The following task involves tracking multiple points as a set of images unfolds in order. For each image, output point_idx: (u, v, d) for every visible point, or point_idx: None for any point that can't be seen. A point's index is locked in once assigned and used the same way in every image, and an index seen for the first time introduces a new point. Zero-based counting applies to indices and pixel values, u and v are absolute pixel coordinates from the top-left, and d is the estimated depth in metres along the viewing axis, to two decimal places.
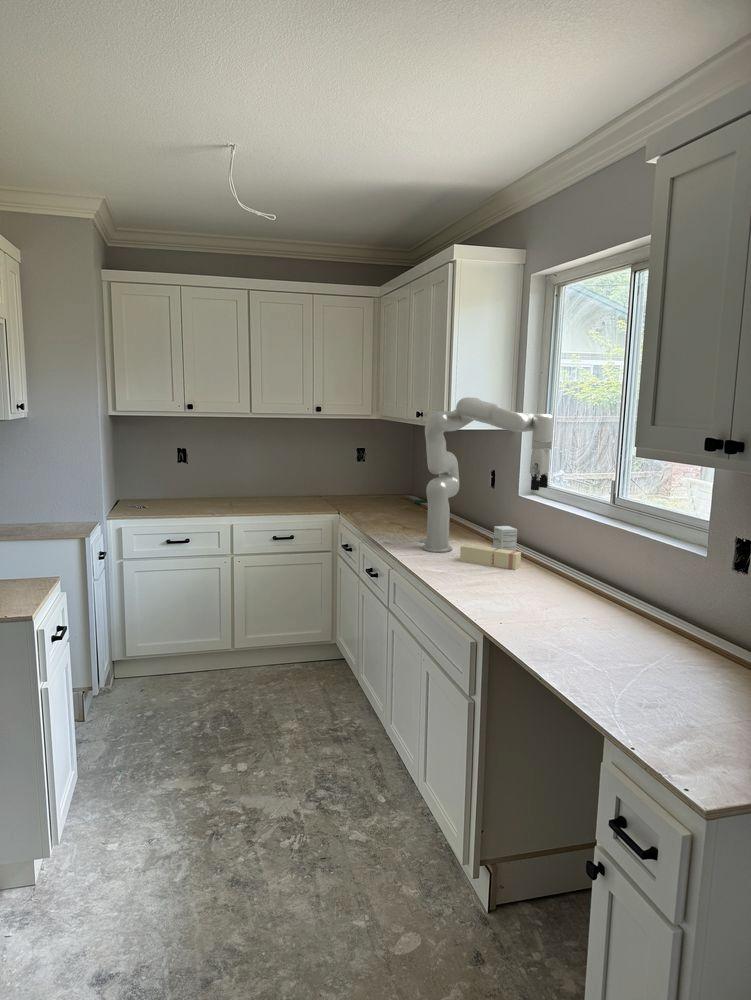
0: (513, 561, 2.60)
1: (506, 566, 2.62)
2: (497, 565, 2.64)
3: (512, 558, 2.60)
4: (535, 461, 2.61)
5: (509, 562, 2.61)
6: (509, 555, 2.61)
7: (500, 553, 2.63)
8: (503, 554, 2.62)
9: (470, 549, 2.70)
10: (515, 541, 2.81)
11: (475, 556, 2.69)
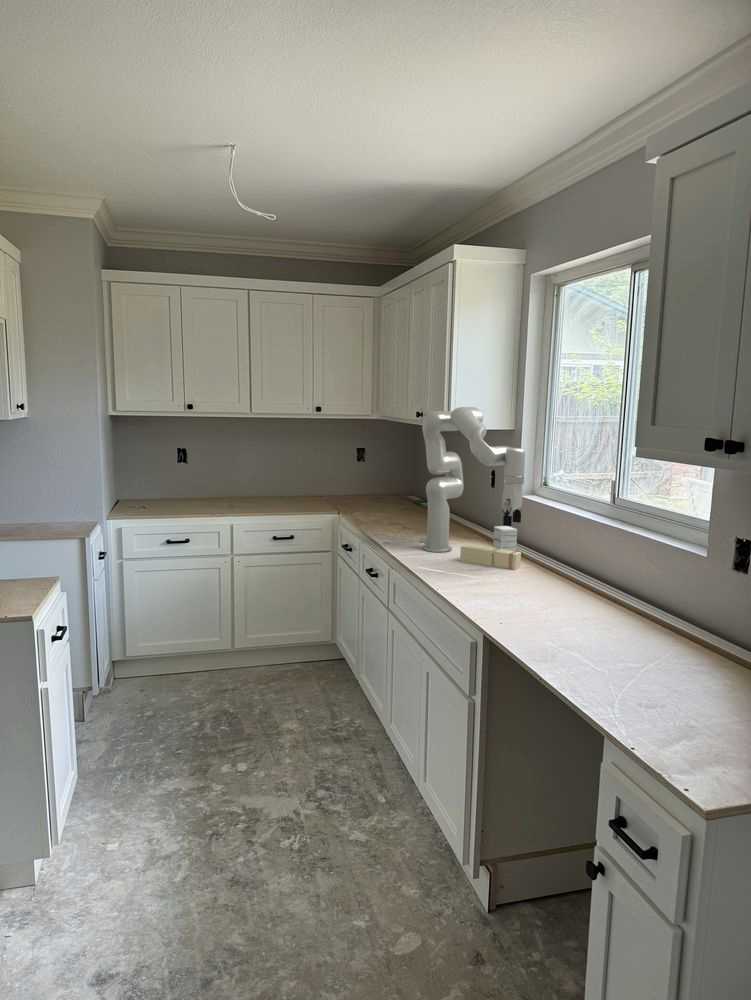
0: (513, 561, 2.60)
1: (506, 566, 2.62)
2: (497, 565, 2.64)
3: (512, 558, 2.60)
4: (507, 496, 2.56)
5: (509, 562, 2.61)
6: (509, 555, 2.61)
7: (500, 553, 2.63)
8: (503, 554, 2.62)
9: (470, 549, 2.70)
10: (515, 541, 2.81)
11: (475, 556, 2.69)
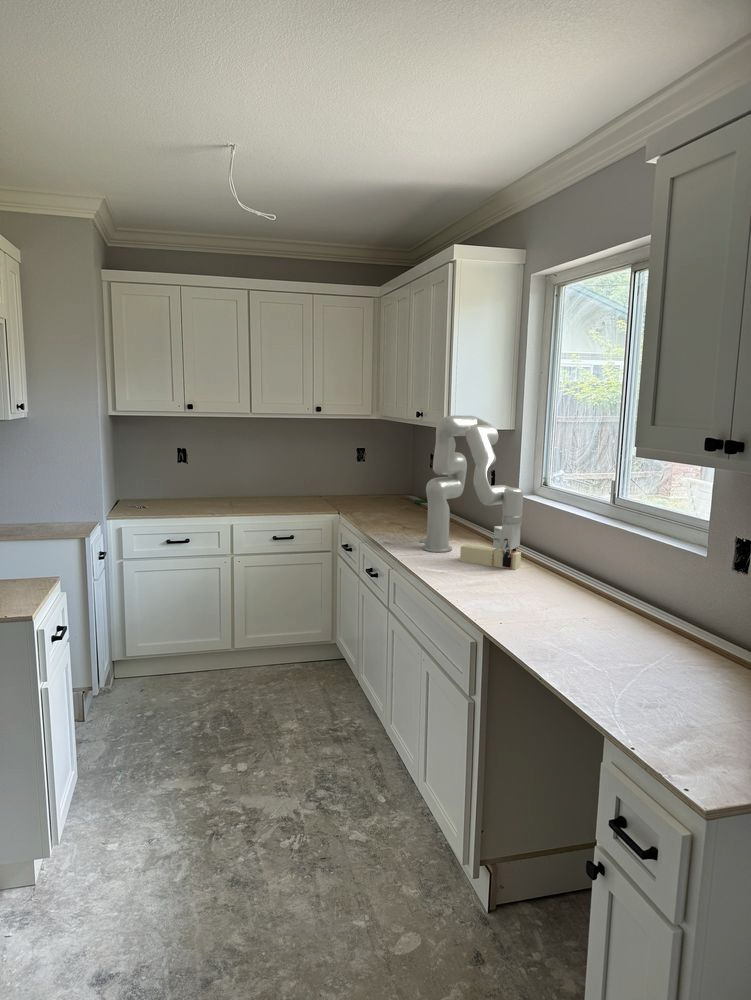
0: (513, 561, 2.60)
1: None
2: (497, 565, 2.64)
3: (512, 558, 2.60)
4: (505, 536, 2.58)
5: None
6: None
7: (500, 553, 2.63)
8: None
9: (470, 549, 2.70)
10: None
11: (475, 556, 2.69)
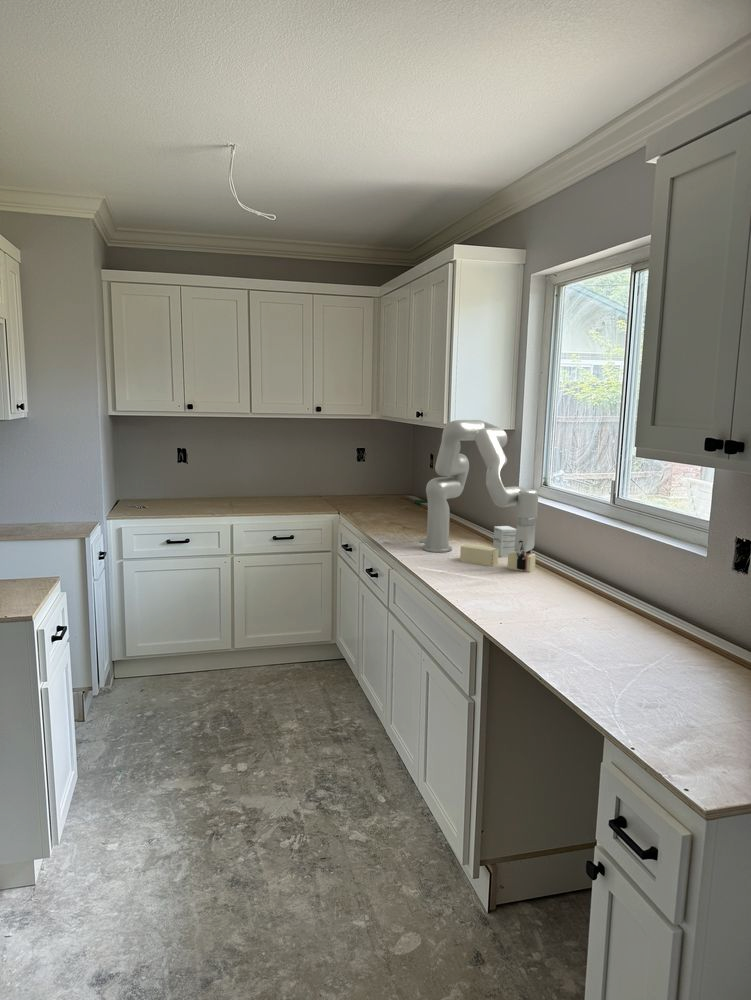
0: (528, 564, 2.57)
1: None
2: (511, 567, 2.61)
3: (527, 560, 2.57)
4: (520, 538, 2.55)
5: None
6: None
7: (514, 555, 2.60)
8: None
9: (470, 549, 2.70)
10: None
11: (475, 556, 2.69)
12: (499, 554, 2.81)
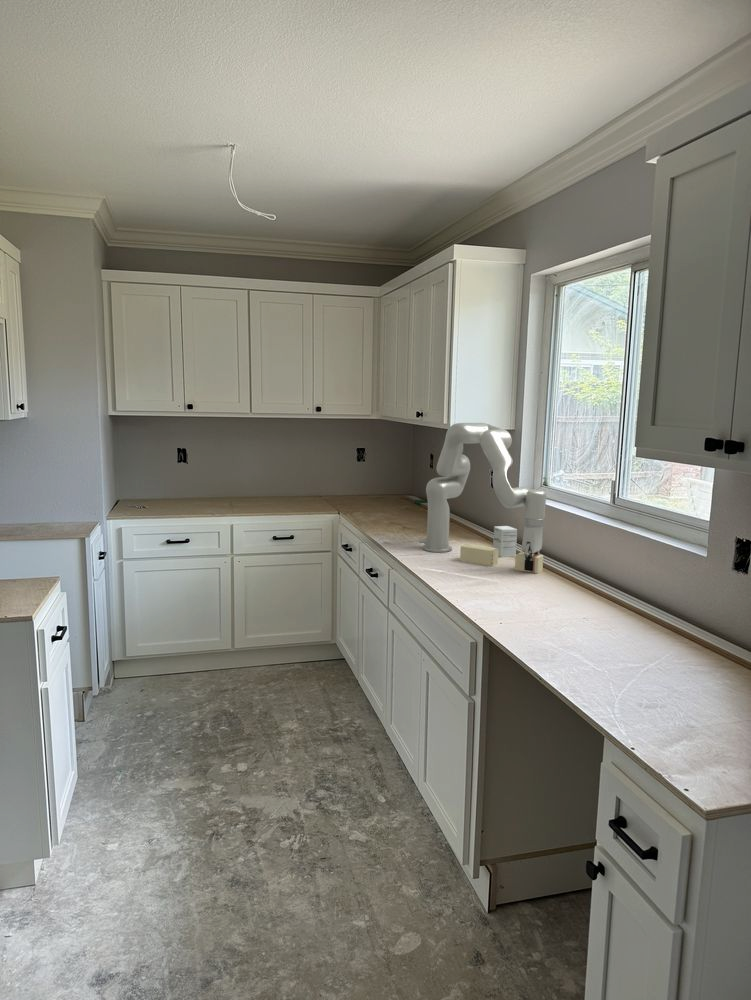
0: (535, 565, 2.55)
1: None
2: (519, 569, 2.59)
3: (534, 561, 2.55)
4: (527, 539, 2.54)
5: None
6: None
7: (522, 556, 2.58)
8: None
9: (470, 549, 2.70)
10: (515, 541, 2.81)
11: (475, 556, 2.69)
12: (499, 554, 2.81)
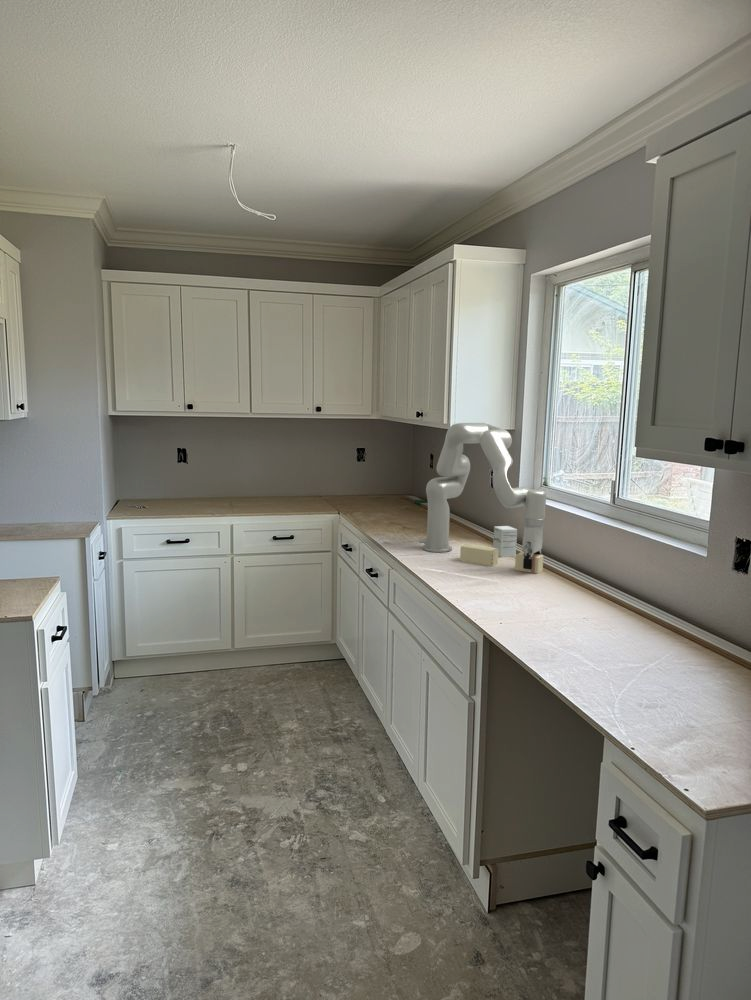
0: (535, 565, 2.55)
1: (528, 570, 2.57)
2: (519, 569, 2.59)
3: (535, 561, 2.55)
4: (527, 539, 2.54)
5: (532, 565, 2.56)
6: (531, 558, 2.56)
7: (522, 556, 2.58)
8: None
9: (470, 549, 2.70)
10: (515, 541, 2.81)
11: (475, 556, 2.69)
12: (499, 554, 2.81)
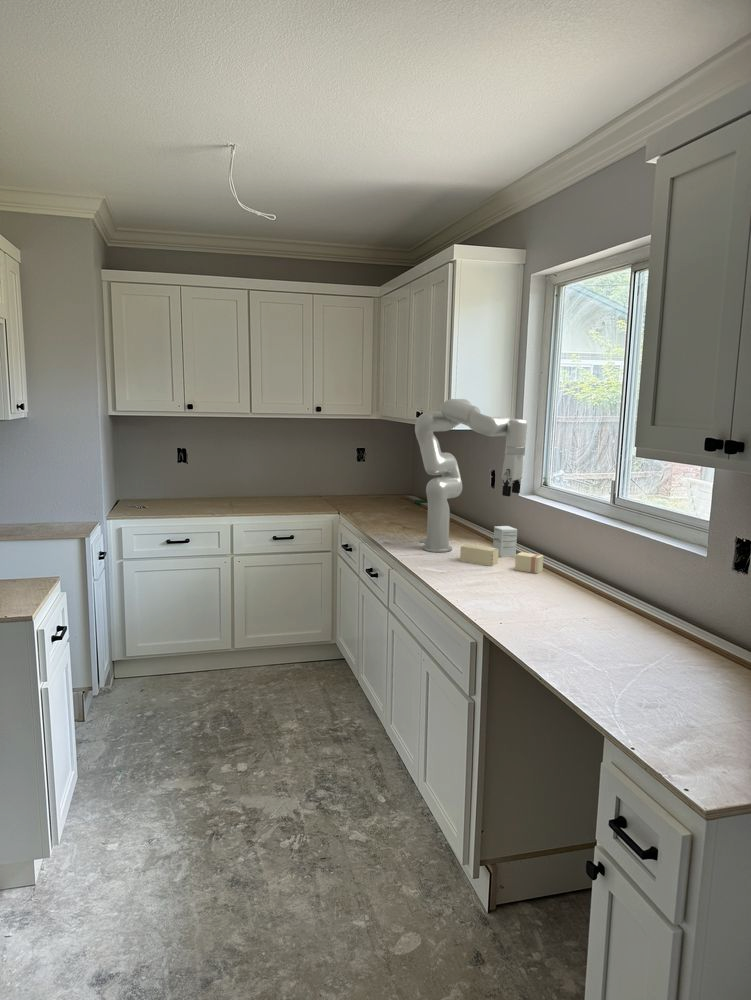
0: (535, 565, 2.55)
1: (528, 570, 2.57)
2: (519, 569, 2.59)
3: (535, 561, 2.55)
4: (507, 467, 2.59)
5: (532, 565, 2.56)
6: (531, 558, 2.56)
7: (522, 556, 2.58)
8: (525, 557, 2.57)
9: (470, 549, 2.70)
10: (515, 541, 2.81)
11: (475, 556, 2.69)
12: (499, 554, 2.81)
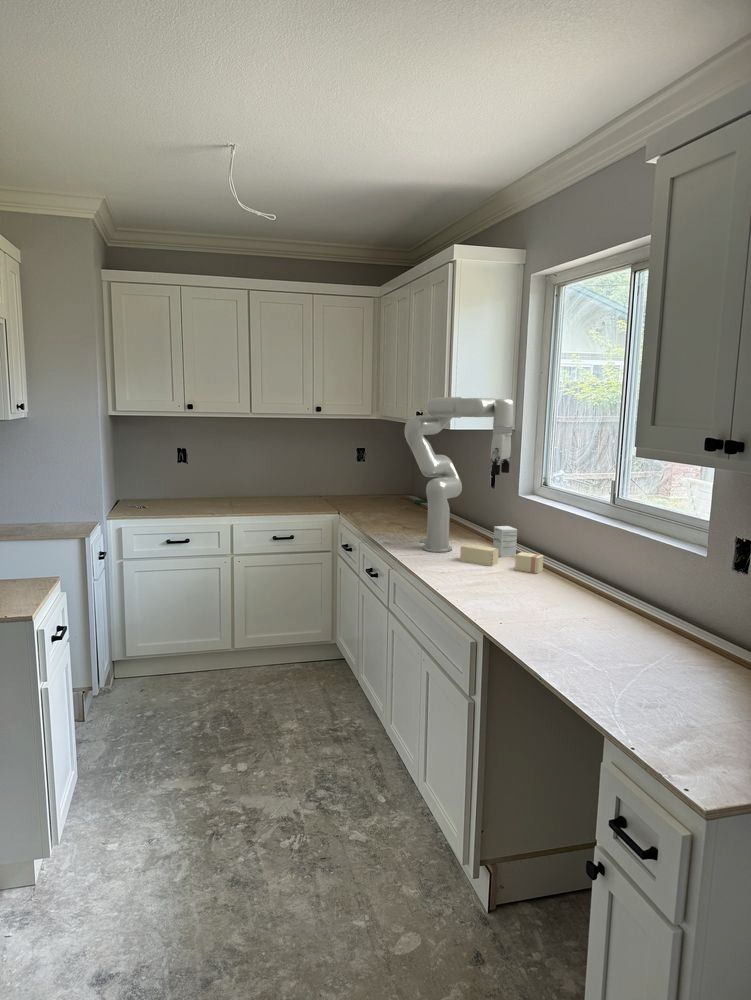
0: (535, 565, 2.55)
1: (528, 570, 2.57)
2: (519, 569, 2.59)
3: (535, 561, 2.55)
4: (495, 446, 2.64)
5: (532, 565, 2.56)
6: (531, 558, 2.56)
7: (522, 556, 2.58)
8: (525, 557, 2.57)
9: (470, 549, 2.70)
10: (515, 541, 2.81)
11: (475, 556, 2.69)
12: (499, 554, 2.81)
